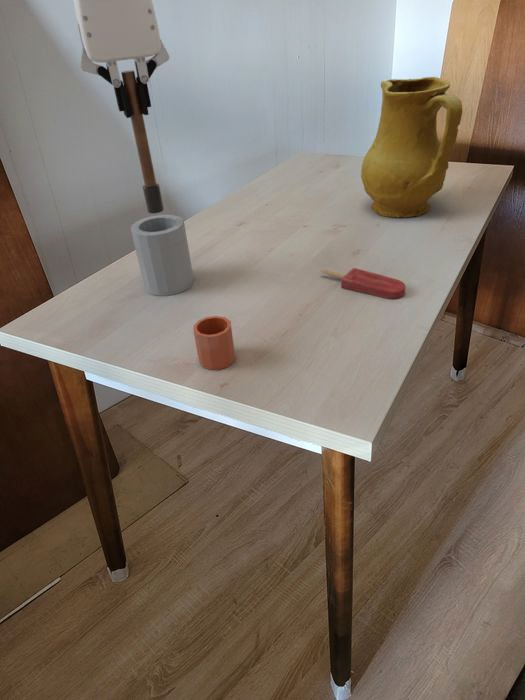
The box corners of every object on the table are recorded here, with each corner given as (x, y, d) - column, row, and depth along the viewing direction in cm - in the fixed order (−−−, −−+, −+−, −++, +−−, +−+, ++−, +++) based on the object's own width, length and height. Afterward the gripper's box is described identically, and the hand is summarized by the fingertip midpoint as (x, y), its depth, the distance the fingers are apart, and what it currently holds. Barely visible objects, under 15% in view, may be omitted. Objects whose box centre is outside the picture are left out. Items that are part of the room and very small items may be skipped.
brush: (144, 212, 83) (114, 73, 72) (153, 206, 85) (125, 70, 74) (158, 214, 82) (129, 73, 71) (166, 208, 84) (140, 69, 73)
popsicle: (327, 260, 90) (410, 280, 83) (327, 269, 91) (409, 290, 84) (314, 271, 88) (398, 293, 80) (314, 280, 89) (397, 303, 81)
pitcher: (424, 187, 120) (436, 67, 105) (457, 221, 106) (477, 87, 90) (351, 198, 120) (352, 78, 104) (375, 233, 105) (380, 101, 90)
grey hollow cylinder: (135, 291, 90) (120, 232, 84) (162, 269, 97) (150, 212, 90) (176, 299, 87) (164, 237, 81) (202, 275, 93) (193, 217, 87)
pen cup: (192, 365, 72) (186, 332, 68) (210, 345, 75) (205, 313, 72) (224, 373, 70) (219, 339, 66) (241, 352, 73) (237, 319, 70)
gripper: (160, -47, 70) (183, 102, 80) (38, -37, 66) (79, 118, 77) (172, -51, 64) (195, 111, 74) (38, -41, 60) (83, 128, 71)
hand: (136, 113), depth 75 cm, fingers closed on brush
